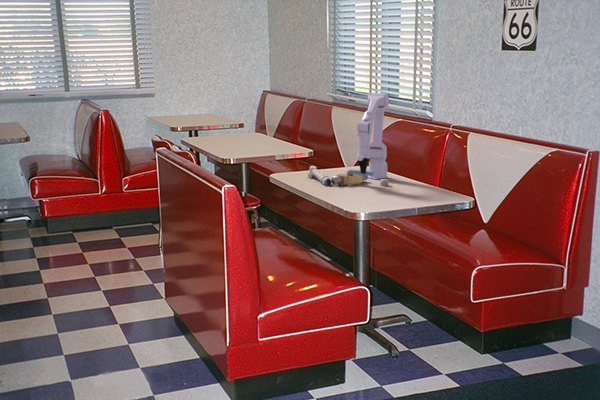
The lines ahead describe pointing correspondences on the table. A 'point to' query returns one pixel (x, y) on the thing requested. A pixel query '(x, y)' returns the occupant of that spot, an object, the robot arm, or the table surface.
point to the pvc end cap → (384, 182)
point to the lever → (359, 172)
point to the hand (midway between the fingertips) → (363, 173)
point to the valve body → (348, 179)
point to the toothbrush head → (318, 176)
